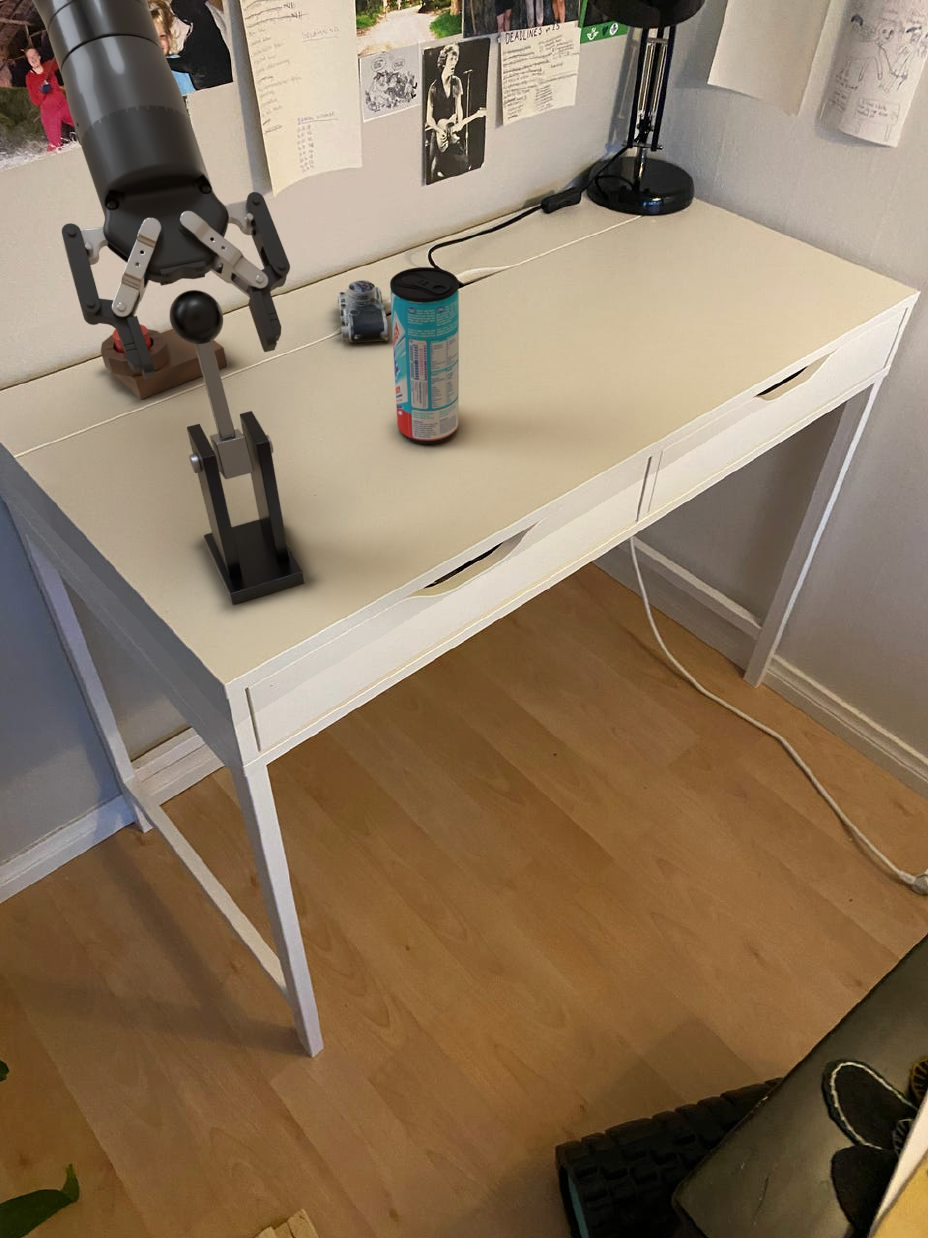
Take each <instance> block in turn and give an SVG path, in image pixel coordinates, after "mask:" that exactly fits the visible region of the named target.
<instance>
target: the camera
mask: <svg viewBox="0 0 928 1238" xmlns="http://www.w3.org/2000/svg"><path fill="white" fill-rule="evenodd" d="M383 303H384V302H383V295H382V291H381V288H379V287H378V286H376V285H375V283H372V282H371V281H370V280H364V279H363V280H355V281H353V282H351V283H349V285H348V288H346V289H344V291H340V292H339V293H338V294H337V304H338V311H339V318H340V319H339V320H340V325H341V327H340V329H341V339H342V340H349V341H350V343H352V344H353V343H368V342H370V343H371V342H383V341H384V342H385V341H390V338H389V337H390V335H389V334H390V333H389V324H388V317H387V313H386V307H385V305H384V304H383Z"/></svg>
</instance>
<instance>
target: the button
mask: <svg viewBox="0 0 928 1238" xmlns="http://www.w3.org/2000/svg"><path fill="white" fill-rule="evenodd" d="M139 324H140V323H139ZM140 327H141V330H142V333H143V336H144V339H145V342H146V345H147V348H148V349H149V348H150V347H151V341H150V337H149V333H148V329H149V328H148V327H147V326H145V325H143V324H140ZM112 335H113V338H114V341H115V345H116V348H117V351H118V352H119V353H123V354H125V352H124V349H123V346H122V343H121V340H120V337H119V334H118V332H117V330H116V329H115V328H114V330H113V333H112Z"/></svg>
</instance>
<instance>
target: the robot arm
mask: <svg viewBox="0 0 928 1238" xmlns="http://www.w3.org/2000/svg"><path fill="white" fill-rule="evenodd" d="M31 2H32V3H33V5H34V7H35V8H36V11H37V12H38V14H39V16H40V18H41V20H42V22H43V25H44V26H45V29H46V33H47V35H48V39H49V42H50V45H51V48H52V51H53V54H54V57H55V61H56V63H57V66H58V69H59V72H60V75H61V79H62V81H63V85H64V90H65V95H66V101H67V106H68V110H69V113H70V116H71V120H72V122H73V123H72V124H73V126H74V133H75V137H76V139H77V142H78V144H79V146H81V150H82V153H83V155H84V159H85V162H86V165H87V167H88V171H89V173H90V176H91V179H92V182H93V186H94V188H95V192H96V195H97V198H98V201H99V203H100V206H101V209H102V213H103V215H104V222H103V226H99V227H98V226H97V227H91V228H80V227H79V226H78V225H77V224H75V223H66V224H64V225H63V226H62V228H61V236H62V241H63V246H64V250H65V253H66V257H67V261H68V266H69V268H70V269H69V270H70V272H71V276H72V280H73V283H74V287H75V291H76V294H77V299H78V302H79V306H80V309H81V313H82V317H83V320H84V321H85V322H86V323H87V324H88V325H91V326H97V325H99V324H100V325H101V324H102V325H108V326H111V327H112V328H114V330H115V329H116V330H117V332H118V334H119V337H120V340H121V343H122V346H123V349H124V352H125V355H126V358H127V361H128V364H129V367H130V368H131V369H132V370H133V371H134V373H135V372H139V371H142V374H143V377H144V379H148V378H152V377H155V370H154V366H153V362H152V359H151V357H150V354H149V351H148V348H147V345H146V342H145V339H144V336H143V333H142V330H141V327H140V321H139V317H138V315H136V313H137V311H138V308H139V305H140V303H141V302H142V300H143V298H144V295H145V293H146V290H147V288H148V285H149V283H150V282H153V283H157V284H160V286H162V287H163V286H168V285H171V284H174V283H176V282H178V281H180V280H183V279H184V280H197V279H202V278H205V277H206V274H208V273H209V272H211V273H213V274H214V275H216V277H218V278H220V279H221V280H222V281H223V282H225V283H227V284H229V285H230V284H231V285H233V286H234V288H236V289H238V290H239V291H240V292H242V293H243V294H244V295H246V296H247V297H248V298H249V300H248V303H247V306H248V308H249V311H250V315H251V317H252V320H253V323H254V327H255V330H256V333H257V335H258V336H257V337H258V339H259V342H260V345H261V348H262V351H263V352H264V353H268V352H273V351H275V350H276V347H277V344H278V342H279V341H280V338H281V336H282V324H281V321H280V318H279V315H278V312H277V309H276V306H275V302H274V299H273V296H272V294H271V292H272V291H274V290H275V289H276V288H281V287H283V286H284V285H285V284H286V281H287V276H288V274H289V273H290V270H291V264H290V261H289V259H288V256H287V253H286V250H285V248H284V246H283V243H282V241H281V238H280V235H279V233H278V230H277V228H276V226H275V223H274V221H273V218H272V215H271V213H270V211H269V207H268V205H267V202H266V199H265V198H264V196H263V195H262V194H261V193H260V192H257V191H252V192H250V193H249V194H248V195H247V198H246V200H241V201H237V202H233V203H229V204H224V203H223V202H222V201H221V200H220V199H219V198H218V196H217V195H216V193H215V192H214V189H213V186H212V182H211V180H210V176H209V173H208V171H207V167H206V164H205V161H204V159H203V156H202V152H201V150H200V146H199V144H198V143H199V142H198V139H197V137H196V134H195V131H194V129H193V125H192V122H191V119H190V118H191V117H190V116H189V113H188V109H187V106H186V104H185V100H184V97H183V94H182V92H181V88H180V86H179V83H178V81H177V79H176V77H175V74H174V73H173V70H172V69H171V67H170V65H169V62H168V60H167V57H166V55H165V53H164V49H163V46H162V43H161V39H160V36H159V33H158V30H157V28H156V27H157V26H156V25H155V22H154V18H153V14H152V11H151V8H150V6H149V3H148V0H31ZM229 224H232V225H235V226H237V227H238V228H239V231H240V232H241V233H242V234H244V236H245V235H246V236H251V238H252V241H253V243H254V245H255V249H256V251H257V253H258V256H259V258H260V261H261V264H262V266H263V268H262V269H260V268H259V267H257V266H256V265H255V264H254V263H252V262H251V261H250V260H248V259H247V258H246V257H245V256H244V254H243V252H242V251H241V250H240V249H239V248H238V247H237V246H235V245H234V244H233V243H231V242H230V241H229V240H228V239H226V237H225V236H226V233H227V231H228V227H229ZM104 247H107V248H108V249H109V250H110V251H111V252H112V253H113V254H115V255H116V256H117V257H118V258H119V259H121V260H122V261H123V262H125V263H126V264H125V268H124V270H123V273H122V276H121V280H120V283H119V287H118V288H117V291H116V294H115V296H114V298H113V299H106V298H101V297H100V296H99V293H98V289H97V284H96V281H95V277H94V274H93V269H92V266H93V265H95V264H97V263H98V262H99V261H100V251H101V249H102V248H104Z"/></svg>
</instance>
